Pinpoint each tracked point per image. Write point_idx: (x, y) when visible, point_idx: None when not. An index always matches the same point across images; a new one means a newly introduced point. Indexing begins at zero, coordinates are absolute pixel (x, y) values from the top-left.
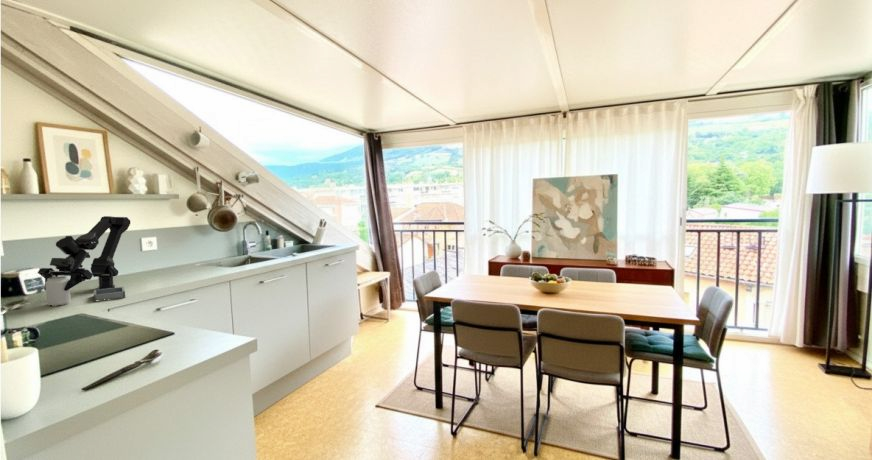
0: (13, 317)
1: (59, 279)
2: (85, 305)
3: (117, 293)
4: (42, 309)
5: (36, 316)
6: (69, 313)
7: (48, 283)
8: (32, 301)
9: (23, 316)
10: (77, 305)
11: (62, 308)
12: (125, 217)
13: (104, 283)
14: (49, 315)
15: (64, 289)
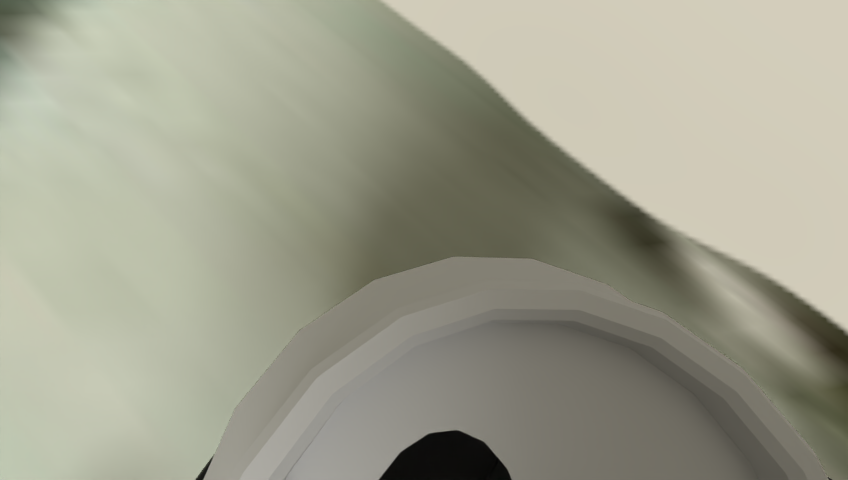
0: (424, 38)
1: (255, 448)
2: (73, 428)
3: None
4: (412, 234)
5: (274, 64)
6: (45, 149)
7: (494, 259)
8: None
9: (376, 60)
10: (174, 412)
11: (250, 285)
12: None
13: None
14: (188, 90)
15: None
